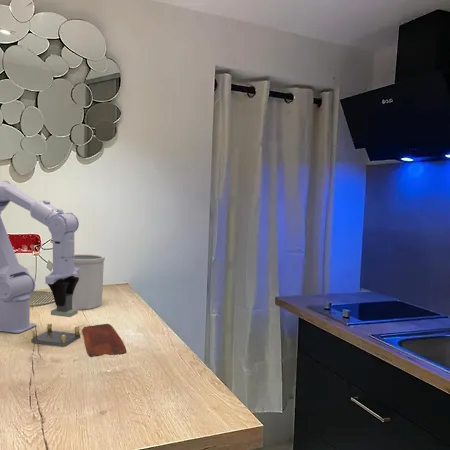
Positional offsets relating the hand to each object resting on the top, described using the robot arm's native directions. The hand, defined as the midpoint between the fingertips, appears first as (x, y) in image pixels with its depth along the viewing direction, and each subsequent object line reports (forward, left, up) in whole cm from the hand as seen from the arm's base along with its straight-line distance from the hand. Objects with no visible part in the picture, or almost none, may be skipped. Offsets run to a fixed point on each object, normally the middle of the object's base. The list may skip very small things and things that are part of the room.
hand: (63, 304), depth 133 cm
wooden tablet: (+11, +2, -10) cm, 15 cm away
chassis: (0, -4, -9) cm, 10 cm away
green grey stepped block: (0, 0, -3) cm, 3 cm away
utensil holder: (-12, +31, -10) cm, 35 cm away
